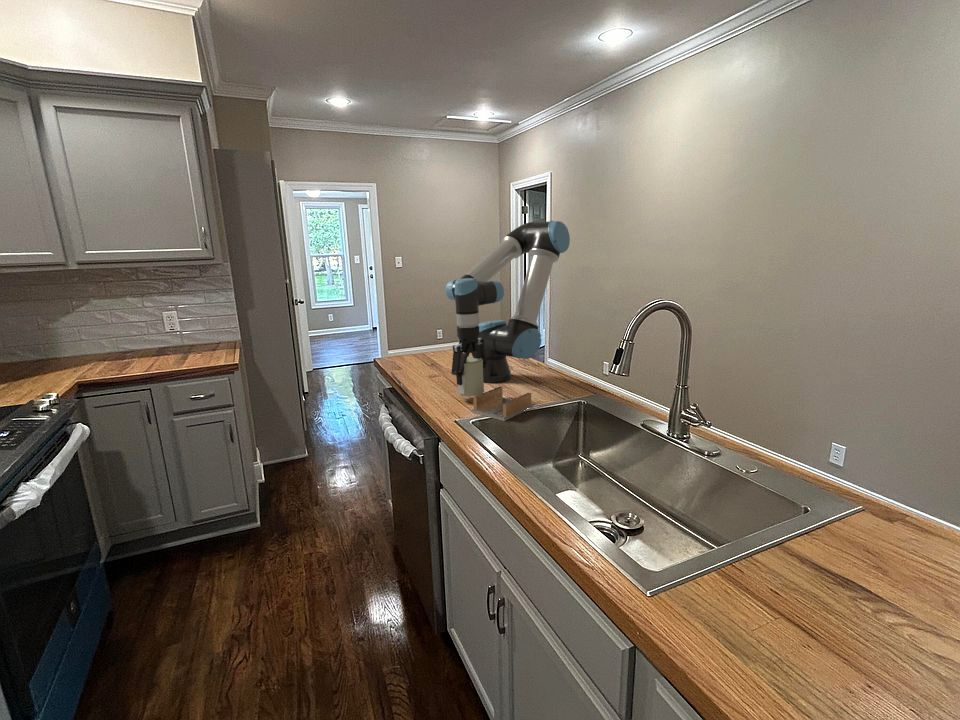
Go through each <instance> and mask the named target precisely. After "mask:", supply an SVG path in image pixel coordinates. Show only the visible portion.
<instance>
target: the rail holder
mask: <svg viewBox="0 0 960 720" xmlns="http://www.w3.org/2000/svg"><path fill="white" fill-rule="evenodd" d="M503 392H504V391H503V386H498V387H495V388H493V389H490V390H488V391H486V392H485V391H484V393H482V394H480V395H478V396H473V409H471V413H472V414H476V415H479V414H481V415H480V416H483V415H486V416H485V417H487V416H490V417H491V419H494V420H499V421H503V422H506V421H508V420H509V419H510V420H511V418H515V417H516V416H518V415H519V414H522V413H524V412H525V411H524V410H526V409H527V408H530V407H532V406H533V407H534V404H533V403H532V393H531V392H527V393H525V394H522V395H519V396H518V397H515V398H513V399H512V398H507V397H503V396H504V395H503ZM533 407H532V408H533ZM530 409H531V408H530ZM523 411H524V412H523ZM526 411H527V410H526ZM490 417H489V418H490Z"/></svg>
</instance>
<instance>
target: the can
mask: <svg viewBox="0 0 960 720" xmlns="http://www.w3.org/2000/svg"><path fill="white" fill-rule="evenodd" d="M459 372H460V371H459ZM463 375H465V391H466V394H461V393H458V392H457V394H458V395H459V396H462V397H475V396H478V395H480V394H482V393H485V387H484V386H485V385H484V383H485V382H483V359H482V358H479V359H478V358H473V356H468V357H467V360H466V363H465V364H464V372H463Z"/></svg>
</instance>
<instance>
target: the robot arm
mask: <svg viewBox="0 0 960 720" xmlns="http://www.w3.org/2000/svg"><path fill="white" fill-rule="evenodd" d="M570 236H571V235H570V232H569V230H568V227H567V226H566V224H565V223H564V222H562V221H561V220H559V221H558V220H550V221H549V220H548V221H528V222H526V223H524V224H521V225H520V226H518V227H516V228H515V229H513V230H511V231H510V232H509V233H508V234H506V235H505V236H504V237H503V238H502V239H501V242H500V244H498V246H496V248H494V249H493V250H492V251H491V252H489V253H488V254H487V255H486V256H485V257H484V258H482V259H481V260H480V261H479V262H478V263H477V264H476V265H474V266H473V267H472V268H470V270H469V271H467V272H466V273H465V274H464V275H463V276H461V277H460V278H459V279H451V280H450V281H448V282H447V284H446V286H445V294H446V296H447V298H448V299H449V300H451V301H454V302H455V313H456V314H455V315H456V326H457V327H456V335H457V336H456V337H457V338H458V340H459V341H458V344H453V345H452V361H451V363H452V365H451V375H453V376H456V385H457V394H458V393H461V394H466V391H465V375H463V372H464V364H465V363H466V360H467V357H470V354H471V357H473V358H478V359H479V358H482V359H483V383H489V384H490V383H503V382H505V381H509V380H510V379H511V377H512V373H511V370H510V366H509V363H508V359H507V357H512V358H515V359H519V360H520V359H524V360H528V359H531V358H533V357H534V356H535V355H537V353H538V352H539V350H540V348H541V344H542V334H541V332H540V331H539V328H540V327H539V325H538V323H537V321H538V317H539V313H540V310H541V306H542V302H543V299H544V296H545V292H546V290H547V286H548V283H549V279H550V275H551V272H552V269H553V264H554V263H556V262H558V261H559V258H560V255H561V254H563V253H565V252H567V251H568V249H569V247H570V243H571V238H570ZM528 253H529V256H530V261H529V265H528V268H527V271H526V275H525V278H524V282H523V285H522V289H521V292H520V295H519V299H518V302H517V306H516V310H515V312H514V315H513V316H511V317H510V318H509V319H508V322H507V321H506V320H505V319H498V320H497V319H496V320H488V321H482V322H480V315H479V313H480V312H479V306H483V305H489V304H495V303H499V302H501V301H502V300H503V298H504V296H505V289H504V286H503V283H501V282H500V281H498V280H491V279H492V278H493V277H495V276H496V274H498V273H499V272H500V271H502V270H503V269H504V267H506V266H507V265H508V264H509V263H510V262H512V260H514V259H518V258H519V257H520V256H522V255H524V254H528ZM459 371H460V372H459Z"/></svg>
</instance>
